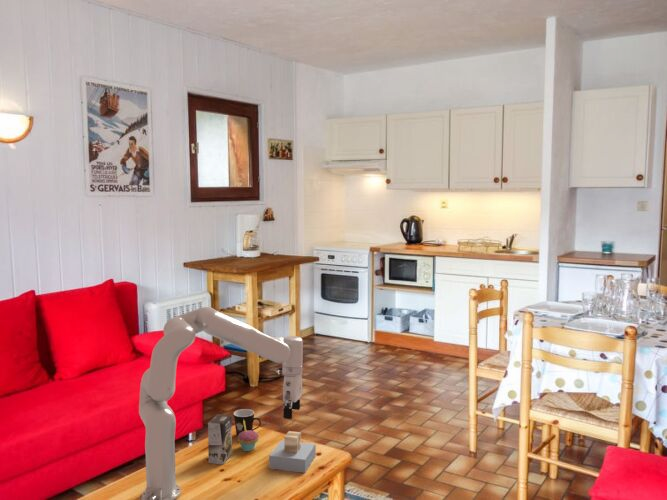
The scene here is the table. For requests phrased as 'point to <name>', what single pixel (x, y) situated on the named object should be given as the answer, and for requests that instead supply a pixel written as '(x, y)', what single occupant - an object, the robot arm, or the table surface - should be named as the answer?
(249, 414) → the coffee mug
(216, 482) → the table surface
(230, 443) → the coffee box
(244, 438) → the cupcake
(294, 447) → the birch block
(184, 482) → the table surface
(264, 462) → the table surface
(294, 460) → the grey block
